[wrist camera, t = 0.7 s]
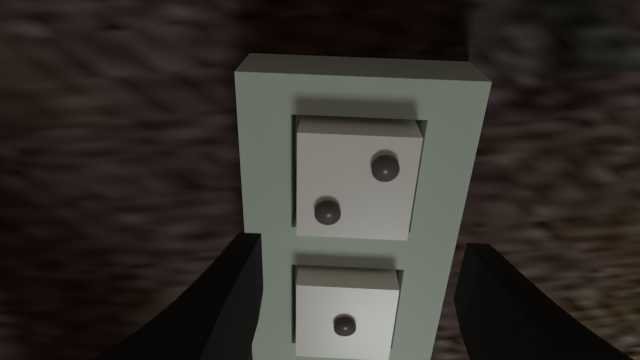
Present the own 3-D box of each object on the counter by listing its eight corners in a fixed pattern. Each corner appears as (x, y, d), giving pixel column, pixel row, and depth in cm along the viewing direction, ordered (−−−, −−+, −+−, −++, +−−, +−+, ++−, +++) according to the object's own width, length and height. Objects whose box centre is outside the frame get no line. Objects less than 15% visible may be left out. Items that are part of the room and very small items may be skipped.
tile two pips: (300, 208, 19) (296, 238, 17) (301, 113, 17) (296, 134, 15) (400, 213, 19) (407, 243, 17) (414, 118, 17) (423, 140, 15)
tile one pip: (299, 323, 22) (295, 359, 20) (299, 255, 20) (295, 288, 18) (384, 328, 22) (388, 364, 20) (394, 260, 20) (400, 293, 18)
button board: (265, 395, 28) (257, 441, 26) (249, 53, 18) (234, 71, 15) (403, 403, 28) (410, 450, 26) (468, 61, 18) (491, 81, 15)
